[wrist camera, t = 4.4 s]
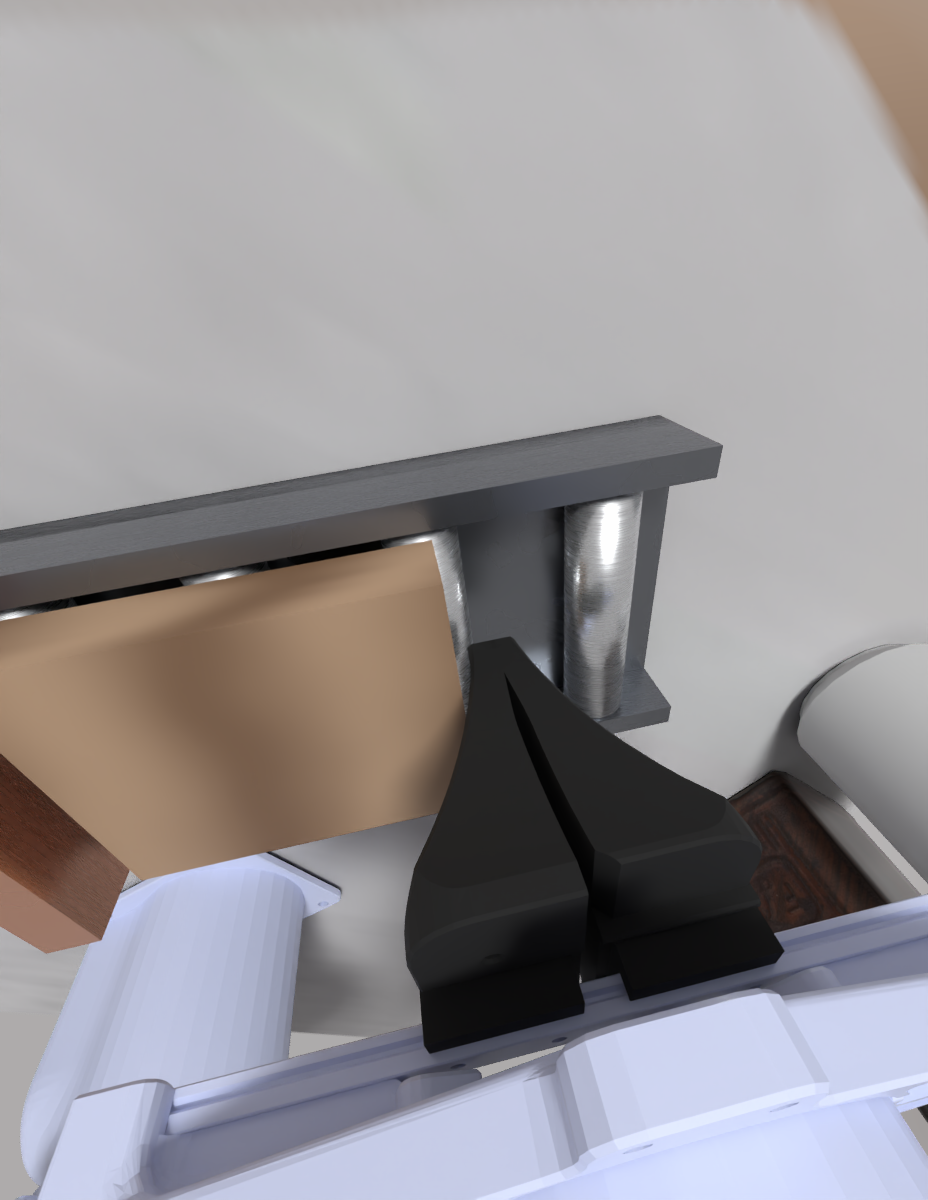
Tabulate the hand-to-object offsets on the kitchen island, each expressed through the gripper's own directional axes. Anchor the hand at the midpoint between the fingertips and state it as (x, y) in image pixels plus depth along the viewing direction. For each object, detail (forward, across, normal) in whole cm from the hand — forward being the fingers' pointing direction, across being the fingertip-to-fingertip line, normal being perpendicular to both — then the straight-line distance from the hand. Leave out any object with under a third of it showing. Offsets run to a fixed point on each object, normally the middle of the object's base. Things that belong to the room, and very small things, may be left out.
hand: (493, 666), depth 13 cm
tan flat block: (0, +6, 0) cm, 6 cm away
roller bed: (+4, +4, 0) cm, 5 cm away
